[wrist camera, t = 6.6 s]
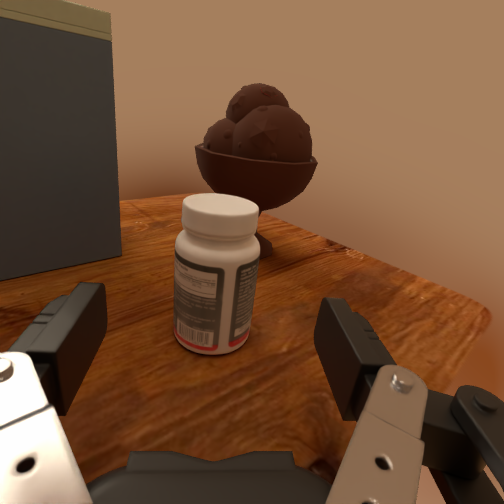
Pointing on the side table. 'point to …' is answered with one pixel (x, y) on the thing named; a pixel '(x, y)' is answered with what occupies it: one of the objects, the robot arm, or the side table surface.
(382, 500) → the robot arm
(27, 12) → the tray
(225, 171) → the ice cream bowl
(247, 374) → the side table surface
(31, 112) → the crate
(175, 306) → the pill bottle
